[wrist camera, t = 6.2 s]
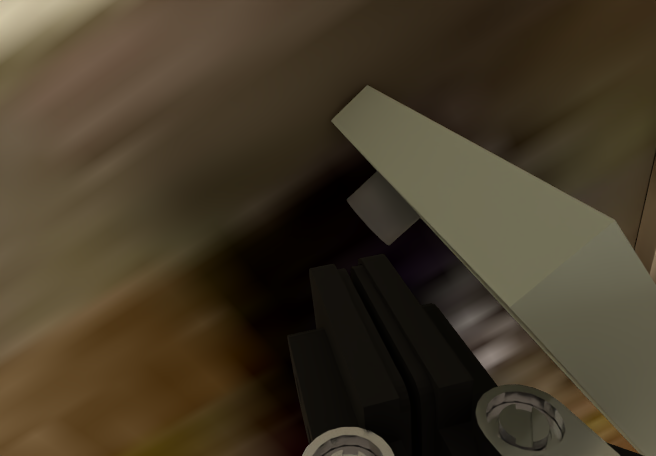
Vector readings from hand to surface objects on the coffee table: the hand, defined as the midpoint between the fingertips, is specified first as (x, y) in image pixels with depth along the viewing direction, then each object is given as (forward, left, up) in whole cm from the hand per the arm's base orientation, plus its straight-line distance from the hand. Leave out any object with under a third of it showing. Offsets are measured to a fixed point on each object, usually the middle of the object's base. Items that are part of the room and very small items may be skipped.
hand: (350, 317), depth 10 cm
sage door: (+5, +7, -7) cm, 11 cm away
